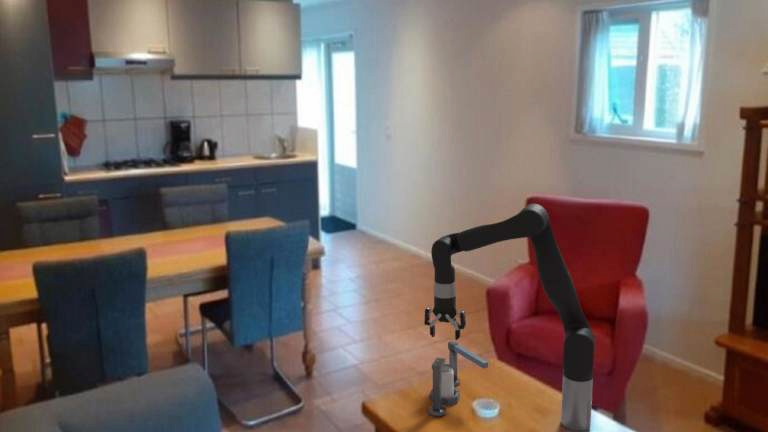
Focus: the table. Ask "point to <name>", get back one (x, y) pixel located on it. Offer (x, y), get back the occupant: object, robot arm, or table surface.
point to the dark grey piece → (437, 390)
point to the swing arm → (467, 354)
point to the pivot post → (454, 366)
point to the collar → (449, 400)
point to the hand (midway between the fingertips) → (445, 337)
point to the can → (447, 381)
